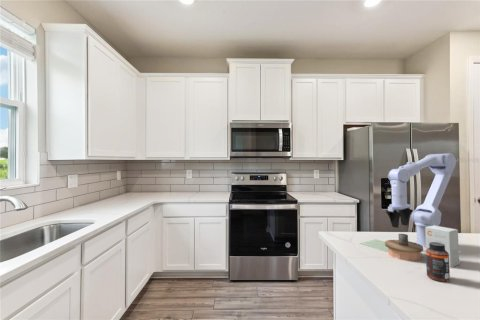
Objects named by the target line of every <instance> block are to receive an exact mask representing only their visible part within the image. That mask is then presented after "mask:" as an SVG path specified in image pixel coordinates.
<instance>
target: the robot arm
mask: <svg viewBox="0 0 480 320" xmlns="http://www.w3.org/2000/svg"><path fill="white" fill-rule="evenodd" d="M456 165H457V158H456V157H455V156H454V154H453V153H451V152H447V153H429V154H426V155H425V157H423V158H422V159H420V160H418V161H416V162H413V161H407V162H406V164H404V165H400V166H399V167H398V168H392V169H391V170H390V171H389V172H388V174H387V178H388V180H389V183H390V186H391V203H390V204H389V206H387V210H386V211H385V213H386V214H387V216H388V217H389V218H388V219H389V220H390V224H391V226H392V227H393V228H396V229H397V228H399V223H400V222H401V223H400V224H401V225H403V226H408V225H409V221H410V217H411V220H412V222H413V223H414V225H416V228H415V229H416V230H415V231H416V242H415V243H417V244H420V245H421V246H423V248H426V231H425V227H428V226H433V225H435V226H440V224H441V221H442V220H441V218H442V215H443V213H442V212H441V211H440V209H438V208H439V205H440V203H441V201H442V198H443V195H444V193H445V191H446V189H447V186H448V184H449V182H450V180H451V176H452V174H453V172H454V169H455V167H456ZM426 167H427V168H429V169H430V171H431V172H432V173H433V174H434V178H433V181H432V183H431V184H430V185H431V186H430V188H429V190H428V192H427V194H426V197H425V199H424V201H423V203H422V204H420V205H418V206H416V208H415V209H414V210H413V209H412V208H411V204H408V193H407V191H408V190H407V182H409V180H410V179H411V177H413V176H415V175H417V174H419V173H420V172H421V170H422V169H424V168H426Z"/></svg>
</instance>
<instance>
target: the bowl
mask: <svg viewBox="0 0 480 320" xmlns="http://www.w3.org/2000/svg"><path fill="white" fill-rule="evenodd" d="M387 253H388V255H389V257H392V258H395V259H398V260H402V261H408V262H409V261H410V262H416V261H417V262H418V261H420V260H422V259H421V258H422V254H421V253H422V252H418V253H410V252H402V251H397V250H393V249H390V248H388V252H387Z"/></svg>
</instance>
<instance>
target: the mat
mask: <svg viewBox="0 0 480 320" xmlns="http://www.w3.org/2000/svg"><path fill="white" fill-rule="evenodd" d="M359 245H361V246H366V247H369V248H372V249H375V250H379V251H383V252H386V253H389V252H388V247H386V246H385V241H383V240H380V239H372V240H368V241H364V242H361V243H360V242H359Z"/></svg>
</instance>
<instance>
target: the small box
mask: <svg viewBox="0 0 480 320" xmlns="http://www.w3.org/2000/svg"><path fill="white" fill-rule="evenodd" d="M425 231H426V247H425V251H426V250H427V249H428V248H429V247H430V246H429V243H430V242H438V243H442V244H444V245H445V250H446V251H447V252H448V253H449V268H453V267H456V266H458V265H460V250H459V249H460V248H459V246H460V245H459V230H458V229H456V228H451V227H446V226H440V225H439V226H435V225H433V226H428V227H425Z"/></svg>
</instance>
